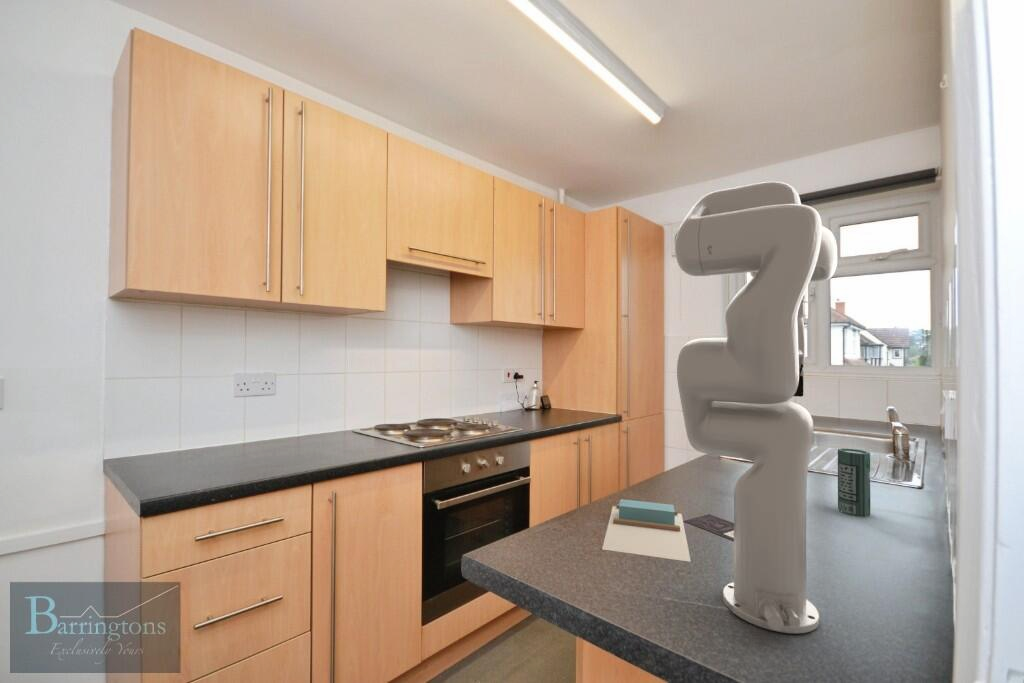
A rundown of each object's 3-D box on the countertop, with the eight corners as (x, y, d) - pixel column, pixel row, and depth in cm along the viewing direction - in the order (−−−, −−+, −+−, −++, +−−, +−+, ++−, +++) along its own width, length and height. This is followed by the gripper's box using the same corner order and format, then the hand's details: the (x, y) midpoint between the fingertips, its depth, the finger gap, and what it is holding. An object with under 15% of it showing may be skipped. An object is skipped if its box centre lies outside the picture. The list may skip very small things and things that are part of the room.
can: (875, 514, 110) (875, 452, 110) (859, 517, 107) (859, 454, 108) (848, 506, 115) (848, 447, 116) (833, 509, 113) (832, 449, 113)
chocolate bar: (708, 514, 107) (787, 542, 91) (708, 518, 107) (787, 547, 91) (683, 521, 102) (761, 551, 87) (683, 525, 102) (761, 556, 87)
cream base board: (690, 563, 82) (690, 557, 82) (601, 551, 87) (602, 545, 87) (681, 515, 107) (681, 510, 107) (612, 507, 112) (612, 502, 112)
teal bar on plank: (618, 519, 103) (619, 505, 103) (620, 511, 108) (620, 499, 108) (674, 525, 100) (674, 512, 100) (673, 517, 104) (673, 504, 104)
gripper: (757, 316, 104) (757, 390, 104) (777, 308, 88) (777, 397, 87) (794, 315, 102) (794, 391, 102) (822, 308, 85) (822, 398, 85)
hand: (786, 394), depth 94 cm, fingers open, 9 cm apart
